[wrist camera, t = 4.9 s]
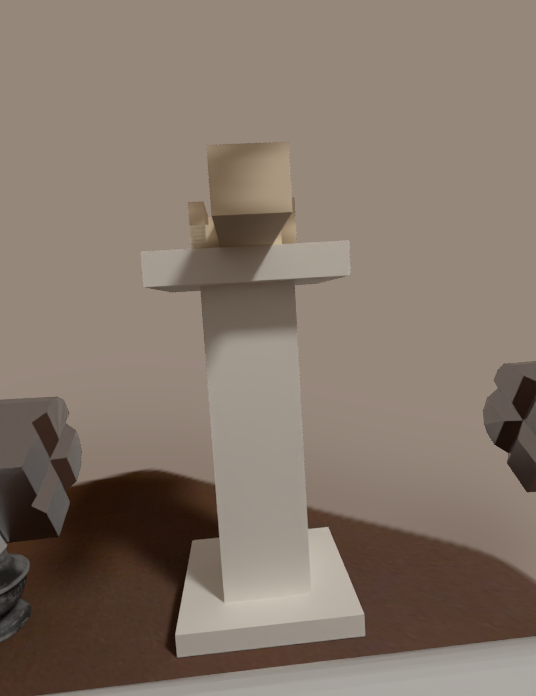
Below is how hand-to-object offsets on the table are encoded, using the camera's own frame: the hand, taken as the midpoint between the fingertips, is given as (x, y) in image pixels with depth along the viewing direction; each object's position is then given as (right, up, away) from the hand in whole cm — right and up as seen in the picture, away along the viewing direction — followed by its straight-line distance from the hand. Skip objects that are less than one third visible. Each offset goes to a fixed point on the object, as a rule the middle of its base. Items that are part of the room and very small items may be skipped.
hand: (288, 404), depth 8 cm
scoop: (-2, +7, +17) cm, 19 cm away
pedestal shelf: (-1, -17, +25) cm, 30 cm away
